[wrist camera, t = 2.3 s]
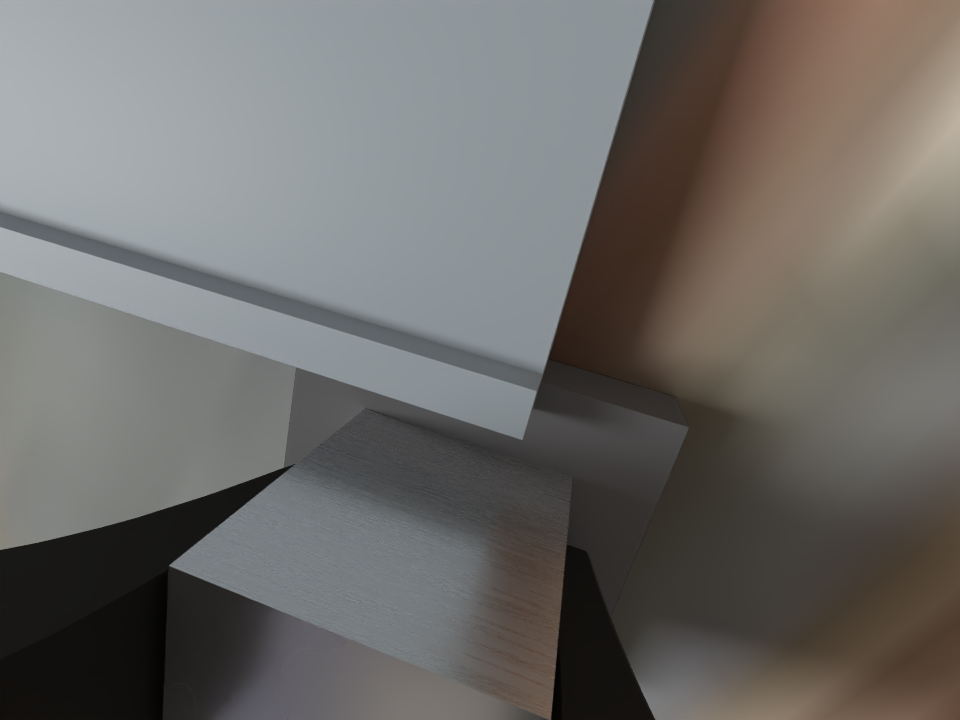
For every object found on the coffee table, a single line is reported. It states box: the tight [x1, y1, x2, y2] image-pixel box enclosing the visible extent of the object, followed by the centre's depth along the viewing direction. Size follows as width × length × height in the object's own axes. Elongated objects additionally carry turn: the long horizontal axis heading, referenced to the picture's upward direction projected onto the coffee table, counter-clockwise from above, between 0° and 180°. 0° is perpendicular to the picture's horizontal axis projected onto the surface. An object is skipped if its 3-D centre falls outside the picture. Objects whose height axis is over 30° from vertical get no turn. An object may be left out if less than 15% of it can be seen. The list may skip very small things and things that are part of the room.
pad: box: [284, 359, 689, 617], centre depth 10 cm, size 7×7×2 cm
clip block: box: [163, 408, 572, 720], centre depth 7 cm, size 4×4×4 cm
